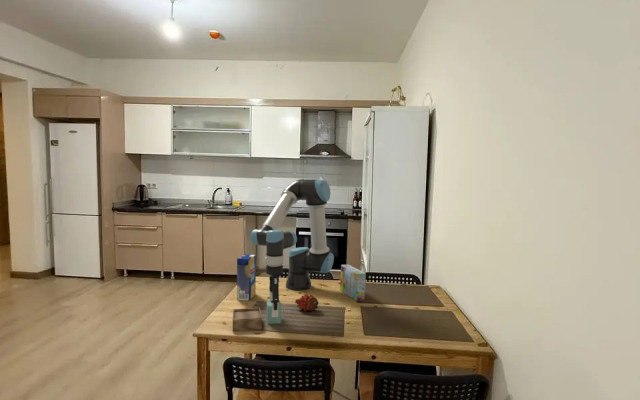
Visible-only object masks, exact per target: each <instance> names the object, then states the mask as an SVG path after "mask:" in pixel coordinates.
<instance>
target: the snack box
mask: <svg viewBox="0 0 640 400" xmlns="http://www.w3.org/2000/svg"><path fill="white" fill-rule="evenodd" d="M366 277H367V274H366V272H364V271H362V270H360V269H358V268H356V267H354V266H352V265H351V264H341V265H340V285H339V286H340V287H339V288H340V289H339V290H340V291H341V292H343V293H344V294H345V295H347V296H348V297H350V298H351V299H353V300H354V301H355V302H364V301H366V299H365V296H366V280H367V279H366Z"/></svg>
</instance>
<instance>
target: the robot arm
mask: <svg viewBox="0 0 640 400" xmlns="http://www.w3.org/2000/svg"><path fill="white" fill-rule="evenodd" d="M280 196H281V197H280V198H279V200H278V201H277V203H276V204H275V206H274V208H273V209H272V210H271V212H270V213H269V214H268V216H267V217H266V219H265V220H264V222H263V223H262V225H261V227H260V228H258V229H257V228H256V229H253V230H252V231H251V233H250V237H249V238H250V242H251V243H252V244H253V245H255V246H256V245H257V246H263V247H266V251H265V252H266V254H265V255H266V257H264V260H265V261H266V262H265V263H266V265H265V274H266V275H269V287H268V288H269V297H268V298H269V301H268V302H270V301H271V303H272V317H278V303H279V301H280V294H279V293H280V291H279V286H280V278H279V276H278V275H282V274H283V273H284V265H283V264H284V250H286V249H289V248H291V249H290V250H289V252H288V253H289V254H288V275H287V279H286V282H285V287H286V288H287V289H289V290H292V291H306V290H308V289H310V288H311V287H312V281H311V277H310V273H309V272H314V273H315V272H316V273H320V274H323V273H325V274H328V273H330V271H331V270H332V268H333V265H334V260H335V256H334V254H333V253H332V252H330V251H331V250H330V248H329V246H327V231H326V230H327V228H326V213H325V211H326V209H325V206H326V205H327V204H328V201H329V200H330V198H331V188H330V184H329V182H328V181H326V180H324V179H318V178H316V179H315V178H312V179H311V178H310V179H304V178H300V179H296V180H294V181H293V182H291V183H289V184H288V185H287V186H286V187H285V188H284V189H283V191H282V192H281V194H280ZM299 201H305V205H306V206H307V207H308V210H309V211H308V212H309V227H310V241H311V247H310V248H309V247H307V246H304V247H303V246H301V247H300V246H299V247H294V246H295V245H296V244H297V242H298V237H297V234H296V233H295V232H294V231H291V230H288V231H283V230H281V229H279V228H280V226H281V224H282V223H283V221H284V220H285V218H286V216H287V215H288V214H289V211H290V210H291V208H292V207H293V206H294V205H296V204H297V202H299ZM292 247H294V248H292Z"/></svg>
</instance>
